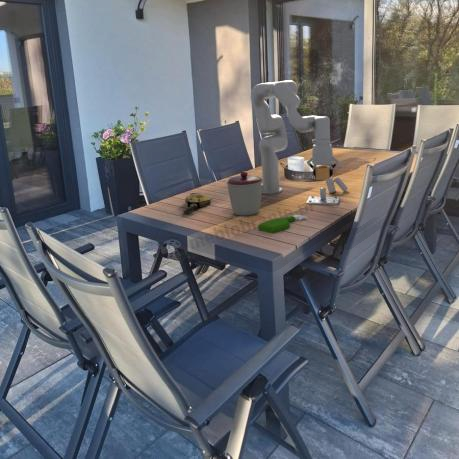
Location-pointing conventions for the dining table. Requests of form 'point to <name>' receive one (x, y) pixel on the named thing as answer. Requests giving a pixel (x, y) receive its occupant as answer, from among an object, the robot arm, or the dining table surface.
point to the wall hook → (332, 187)
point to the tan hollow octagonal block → (322, 172)
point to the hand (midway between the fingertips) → (323, 176)
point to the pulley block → (196, 201)
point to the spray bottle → (279, 223)
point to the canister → (245, 194)
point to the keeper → (323, 199)
